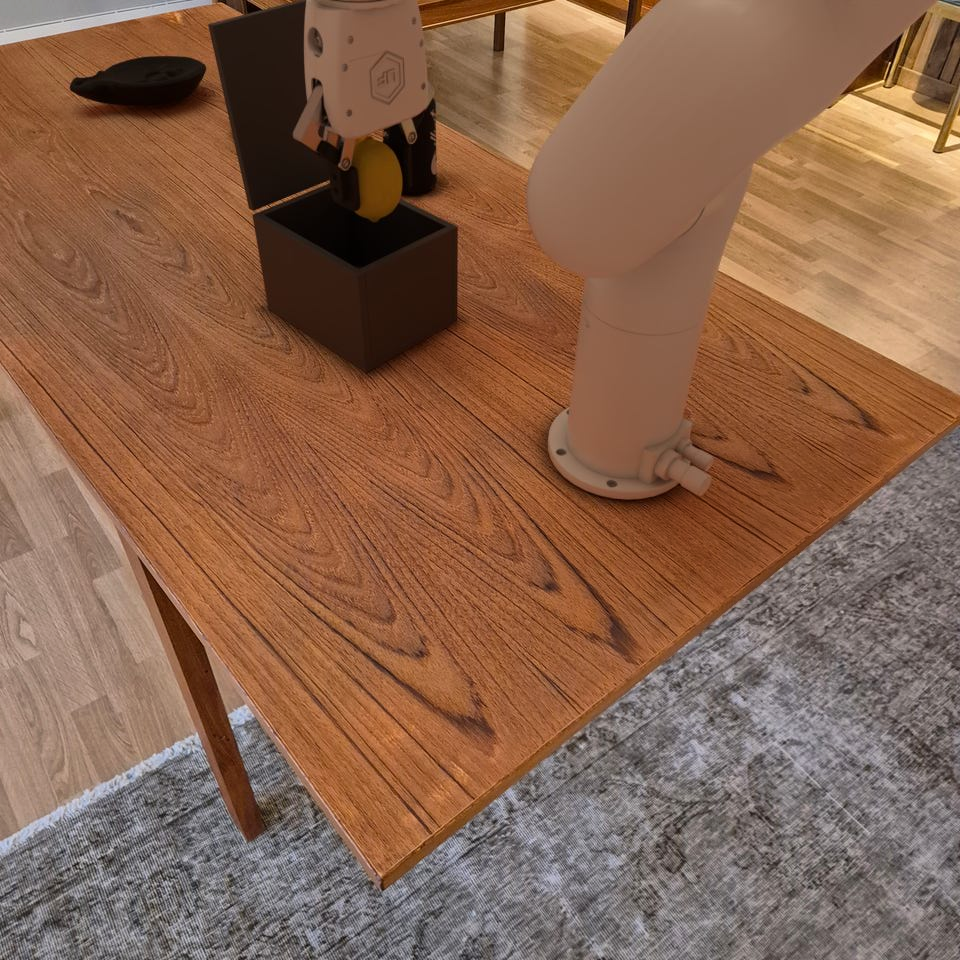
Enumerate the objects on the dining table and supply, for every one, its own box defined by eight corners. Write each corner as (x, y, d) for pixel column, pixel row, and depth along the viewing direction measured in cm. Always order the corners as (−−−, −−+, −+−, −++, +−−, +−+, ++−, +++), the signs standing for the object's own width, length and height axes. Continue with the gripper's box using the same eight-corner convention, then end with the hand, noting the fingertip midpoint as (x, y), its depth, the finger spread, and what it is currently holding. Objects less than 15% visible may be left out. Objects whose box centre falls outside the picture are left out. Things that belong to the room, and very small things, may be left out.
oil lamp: (65, 96, 133) (55, 62, 129) (193, 74, 140) (187, 41, 137) (89, 133, 124) (78, 97, 120) (225, 108, 131) (218, 73, 128)
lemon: (416, 221, 84) (413, 137, 78) (372, 242, 81) (366, 156, 75) (376, 201, 86) (371, 119, 81) (332, 221, 83) (323, 137, 78)
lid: (329, -6, 81) (295, -13, 84) (212, 25, 75) (180, 16, 78) (353, 170, 92) (322, 159, 95) (253, 211, 85) (223, 197, 88)
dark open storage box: (457, 321, 93) (458, 226, 85) (366, 373, 86) (357, 275, 78) (359, 265, 100) (351, 173, 93) (268, 309, 94) (251, 214, 86)
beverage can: (430, 200, 112) (428, 103, 103) (379, 194, 113) (373, 97, 104) (442, 177, 116) (441, 82, 108) (393, 171, 117) (388, 77, 109)
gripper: (300, 10, 63) (326, 242, 75) (469, -36, 72) (467, 178, 84) (237, -14, 66) (271, 211, 79) (406, -55, 75) (413, 153, 88)
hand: (372, 192), depth 81 cm, fingers closed on lemon, 5 cm apart
